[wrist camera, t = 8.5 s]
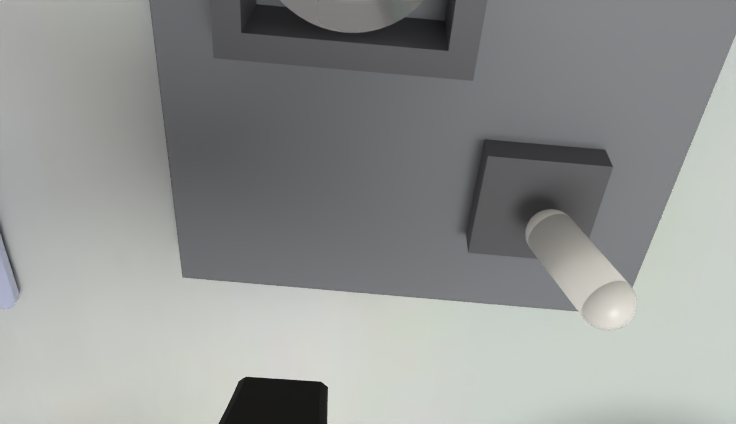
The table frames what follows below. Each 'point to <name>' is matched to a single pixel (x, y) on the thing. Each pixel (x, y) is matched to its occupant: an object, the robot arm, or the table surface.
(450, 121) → the control panel
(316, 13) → the steel push button
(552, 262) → the off-white toggle lever
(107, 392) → the table surface
